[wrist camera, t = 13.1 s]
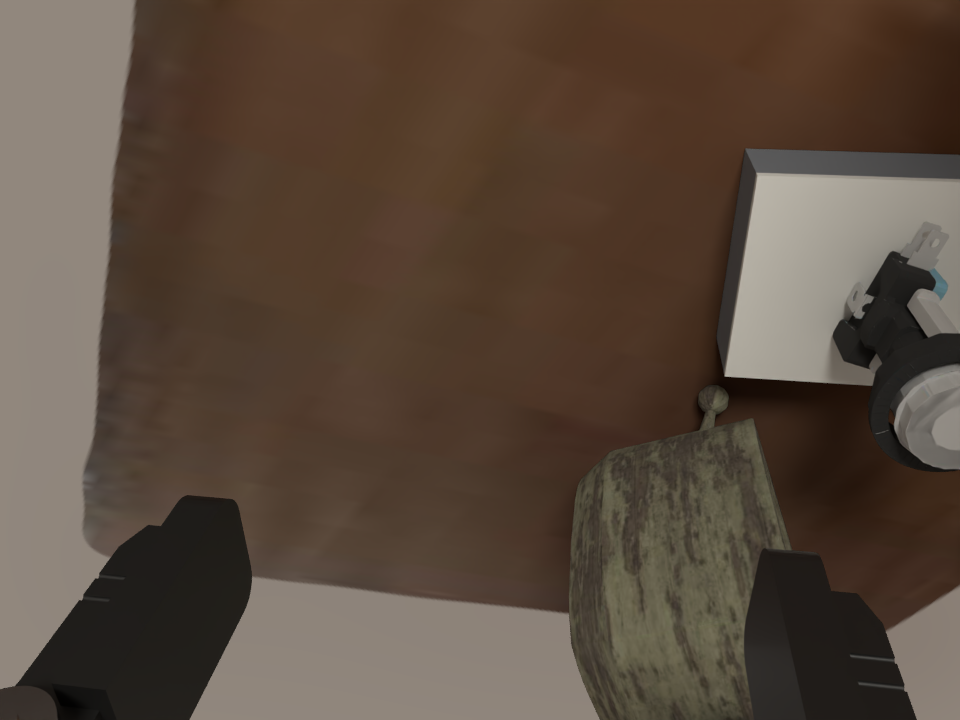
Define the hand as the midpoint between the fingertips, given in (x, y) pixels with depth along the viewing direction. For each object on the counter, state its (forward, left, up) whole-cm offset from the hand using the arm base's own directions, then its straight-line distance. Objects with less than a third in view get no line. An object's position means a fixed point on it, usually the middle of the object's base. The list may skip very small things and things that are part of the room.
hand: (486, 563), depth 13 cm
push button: (+7, +14, -26) cm, 31 cm away
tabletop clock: (+21, +8, -30) cm, 38 cm away
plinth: (+7, +13, -30) cm, 34 cm away
